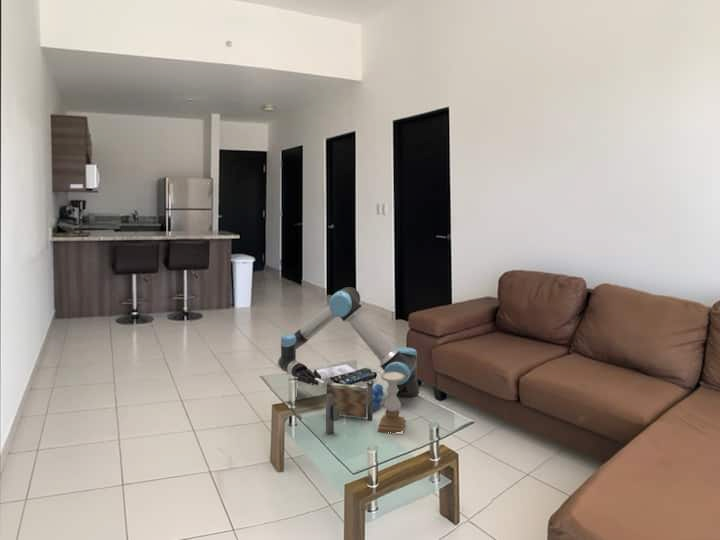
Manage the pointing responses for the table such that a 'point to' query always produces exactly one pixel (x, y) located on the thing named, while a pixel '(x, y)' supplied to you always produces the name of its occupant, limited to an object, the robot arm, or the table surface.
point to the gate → (349, 399)
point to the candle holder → (392, 405)
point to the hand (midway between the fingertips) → (323, 385)
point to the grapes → (377, 396)
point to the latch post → (331, 413)
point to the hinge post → (370, 400)
